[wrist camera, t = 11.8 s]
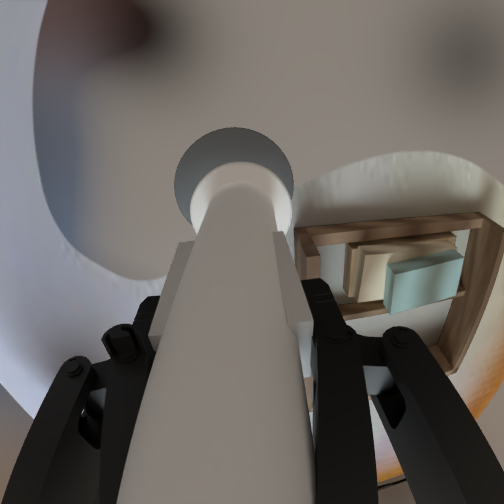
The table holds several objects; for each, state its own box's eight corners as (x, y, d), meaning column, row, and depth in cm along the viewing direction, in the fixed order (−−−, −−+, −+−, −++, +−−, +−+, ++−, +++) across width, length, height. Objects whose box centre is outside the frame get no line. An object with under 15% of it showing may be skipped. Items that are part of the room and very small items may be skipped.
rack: (296, 380, 41) (302, 413, 36) (293, 228, 30) (306, 257, 25) (440, 347, 41) (456, 372, 36) (479, 212, 30) (508, 231, 25)
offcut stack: (342, 287, 34) (359, 320, 29) (346, 238, 31) (366, 266, 26) (439, 271, 34) (463, 297, 29) (447, 227, 31) (476, 249, 26)
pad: (186, 245, 30) (185, 247, 30) (166, 137, 25) (165, 137, 25) (294, 232, 30) (295, 235, 30) (288, 122, 25) (289, 122, 25)
